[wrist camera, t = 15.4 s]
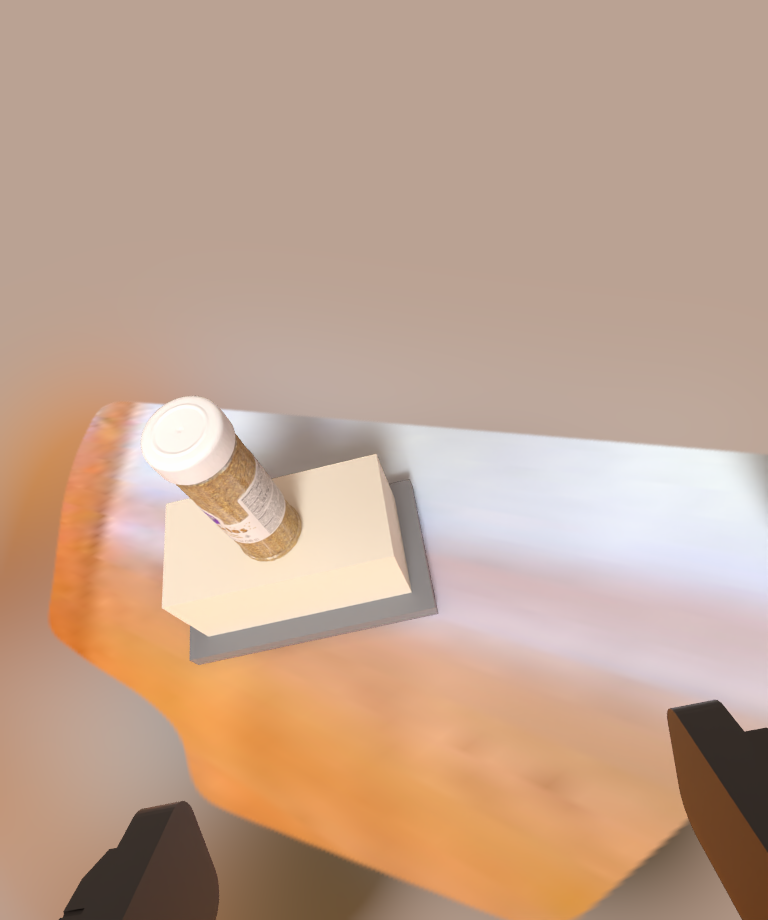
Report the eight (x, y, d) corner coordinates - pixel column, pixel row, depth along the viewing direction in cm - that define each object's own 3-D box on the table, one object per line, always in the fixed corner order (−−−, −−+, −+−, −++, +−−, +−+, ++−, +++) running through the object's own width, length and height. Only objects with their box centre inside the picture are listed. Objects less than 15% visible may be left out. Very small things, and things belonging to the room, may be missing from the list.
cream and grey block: (412, 487, 53) (393, 431, 46) (438, 613, 47) (420, 572, 40) (199, 537, 55) (148, 491, 47) (198, 664, 49) (139, 634, 42)
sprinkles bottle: (229, 551, 43) (120, 455, 32) (260, 495, 45) (167, 384, 34) (285, 573, 42) (191, 478, 30) (315, 513, 43) (237, 402, 32)
